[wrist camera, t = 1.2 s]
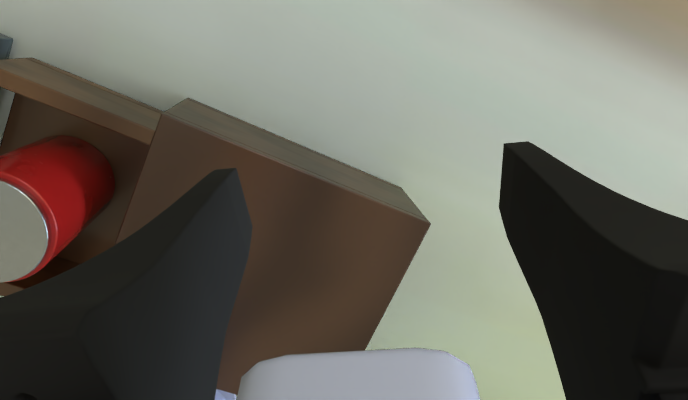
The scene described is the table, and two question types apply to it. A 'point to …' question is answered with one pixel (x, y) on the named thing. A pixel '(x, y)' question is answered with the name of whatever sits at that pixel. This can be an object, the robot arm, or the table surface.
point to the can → (48, 200)
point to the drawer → (84, 123)
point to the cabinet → (287, 235)
